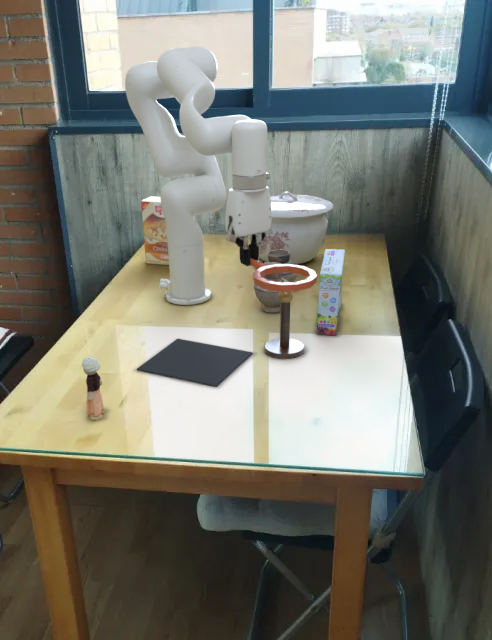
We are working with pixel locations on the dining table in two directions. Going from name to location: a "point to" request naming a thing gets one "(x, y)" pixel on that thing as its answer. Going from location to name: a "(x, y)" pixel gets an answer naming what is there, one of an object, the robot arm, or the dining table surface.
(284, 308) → the coat peg
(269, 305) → the pottery
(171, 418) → the dining table surface
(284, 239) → the chamber pot
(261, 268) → the orange ring with handle
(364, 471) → the dining table surface
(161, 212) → the coffeecake box
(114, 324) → the dining table surface
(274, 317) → the dining table surface
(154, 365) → the mat
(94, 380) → the grandmother figurine
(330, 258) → the snack box
